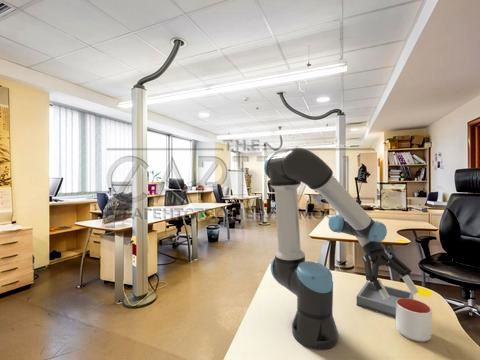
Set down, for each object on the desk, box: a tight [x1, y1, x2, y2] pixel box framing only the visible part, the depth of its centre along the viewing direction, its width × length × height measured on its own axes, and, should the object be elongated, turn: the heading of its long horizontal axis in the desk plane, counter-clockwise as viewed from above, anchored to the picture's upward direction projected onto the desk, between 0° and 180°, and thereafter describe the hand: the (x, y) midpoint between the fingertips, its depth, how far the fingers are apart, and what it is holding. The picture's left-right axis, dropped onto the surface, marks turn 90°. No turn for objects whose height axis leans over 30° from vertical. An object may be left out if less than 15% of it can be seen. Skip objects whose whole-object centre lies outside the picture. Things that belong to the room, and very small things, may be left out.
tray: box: [356, 280, 414, 319], centre depth 104 cm, size 18×18×4 cm
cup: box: [395, 298, 433, 342], centre depth 84 cm, size 10×10×10 cm
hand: (401, 296), depth 91 cm, fingers open, 13 cm apart
